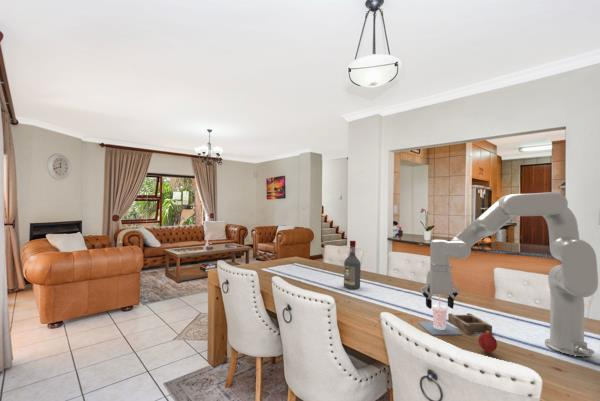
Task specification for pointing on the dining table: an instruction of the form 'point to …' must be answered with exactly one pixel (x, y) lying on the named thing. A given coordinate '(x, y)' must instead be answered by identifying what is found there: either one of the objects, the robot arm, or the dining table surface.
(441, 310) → the beverage cup
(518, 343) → the dining table surface
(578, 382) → the dining table surface
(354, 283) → the liquor
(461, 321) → the wooden crate
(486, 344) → the onion
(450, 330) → the mat
